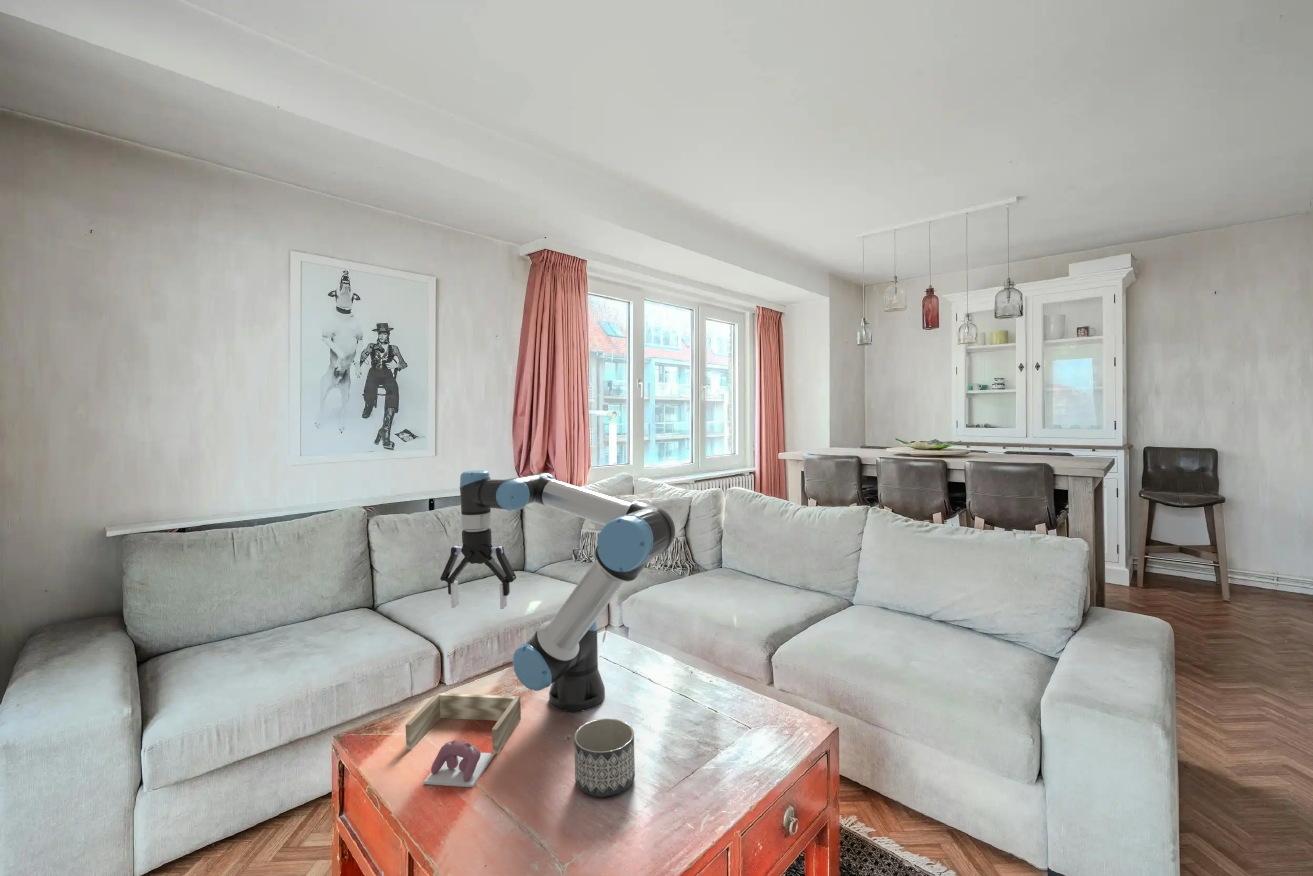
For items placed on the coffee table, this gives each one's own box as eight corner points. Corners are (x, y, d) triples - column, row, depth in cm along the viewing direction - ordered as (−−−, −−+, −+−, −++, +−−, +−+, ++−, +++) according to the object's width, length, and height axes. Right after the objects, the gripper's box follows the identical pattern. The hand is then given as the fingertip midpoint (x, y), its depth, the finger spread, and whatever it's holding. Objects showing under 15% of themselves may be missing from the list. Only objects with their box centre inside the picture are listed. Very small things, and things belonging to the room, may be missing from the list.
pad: (493, 755, 133) (493, 753, 133) (473, 787, 122) (473, 784, 122) (448, 753, 134) (448, 750, 134) (424, 784, 123) (423, 781, 123)
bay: (520, 719, 148) (520, 696, 148) (497, 754, 133) (496, 729, 133) (438, 715, 151) (437, 692, 151) (406, 749, 136) (405, 724, 136)
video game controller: (478, 780, 126) (485, 744, 128) (466, 782, 122) (474, 745, 124) (440, 772, 129) (448, 737, 132) (427, 774, 125) (436, 738, 128)
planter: (611, 810, 115) (610, 759, 114) (562, 788, 121) (561, 740, 121) (646, 775, 125) (645, 728, 125) (600, 757, 132) (598, 712, 131)
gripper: (526, 525, 156) (528, 603, 158) (439, 525, 159) (442, 600, 161) (516, 532, 149) (519, 612, 150) (425, 531, 152) (428, 610, 153)
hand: (479, 606), depth 155 cm, fingers open, 13 cm apart
